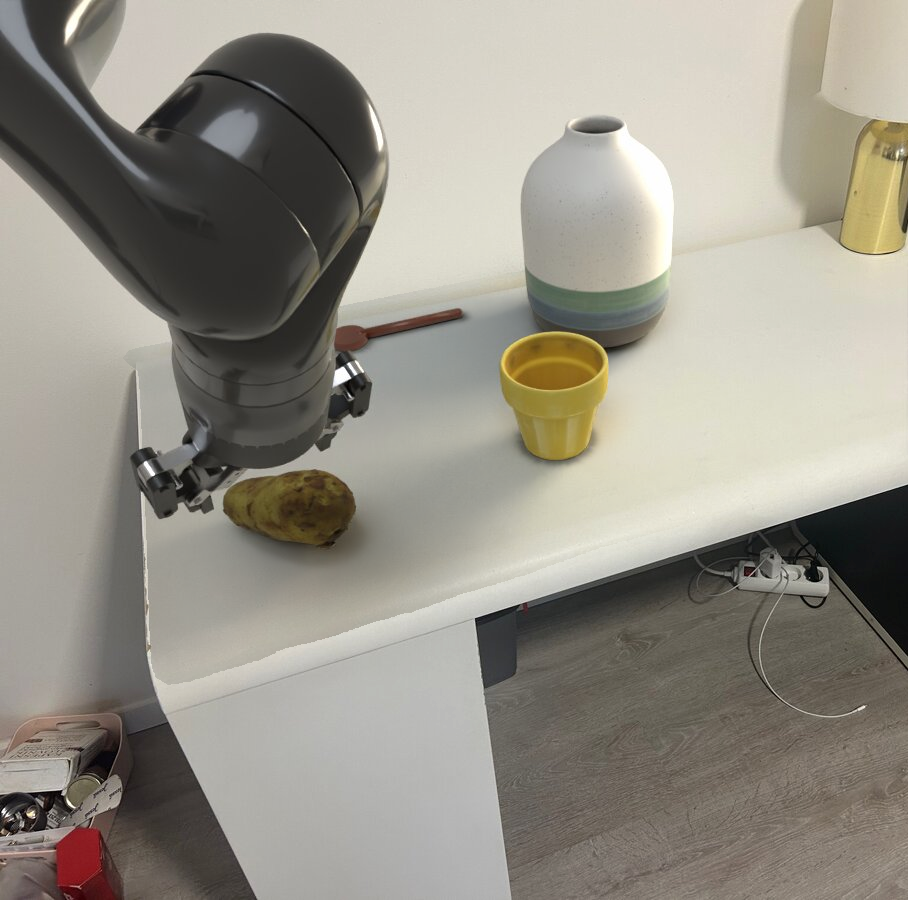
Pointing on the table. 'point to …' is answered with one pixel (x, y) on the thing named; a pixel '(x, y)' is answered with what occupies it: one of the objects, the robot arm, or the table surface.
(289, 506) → the potato
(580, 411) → the flower pot
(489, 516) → the table surface
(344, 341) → the wooden spoon
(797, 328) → the table surface
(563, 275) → the vase
